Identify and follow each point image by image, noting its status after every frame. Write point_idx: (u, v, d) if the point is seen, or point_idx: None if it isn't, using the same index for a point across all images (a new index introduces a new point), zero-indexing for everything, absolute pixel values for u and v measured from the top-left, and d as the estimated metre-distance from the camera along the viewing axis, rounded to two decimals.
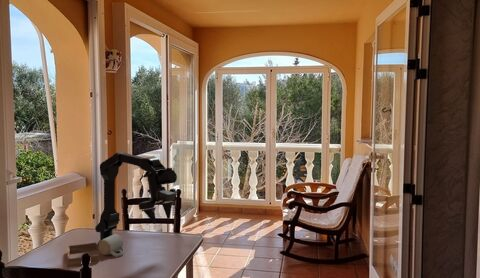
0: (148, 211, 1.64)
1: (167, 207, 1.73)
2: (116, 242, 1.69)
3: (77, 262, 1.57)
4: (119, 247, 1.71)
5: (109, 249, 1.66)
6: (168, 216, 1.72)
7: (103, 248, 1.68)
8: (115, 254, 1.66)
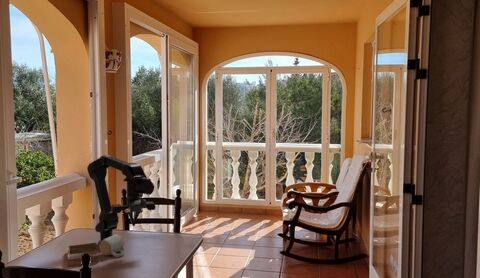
0: None
1: (134, 215, 1.74)
2: (117, 242, 1.69)
3: (77, 262, 1.57)
4: (120, 247, 1.70)
5: (110, 249, 1.66)
6: None
7: (103, 248, 1.67)
8: (116, 254, 1.66)
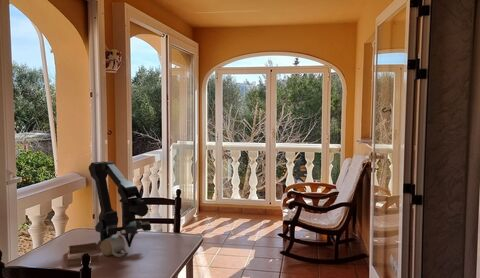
0: None
1: (130, 235, 1.73)
2: (118, 242, 1.69)
3: (77, 262, 1.57)
4: (121, 247, 1.70)
5: (111, 249, 1.66)
6: None
7: (104, 249, 1.67)
8: (117, 254, 1.66)
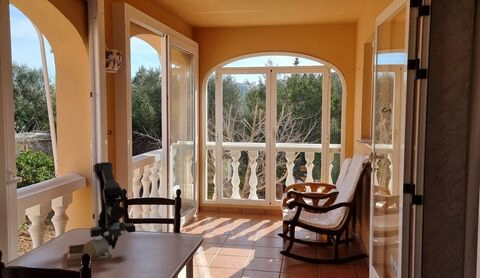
0: None
1: (114, 237, 1.71)
2: (102, 244, 1.66)
3: (77, 262, 1.57)
4: (105, 249, 1.67)
5: (95, 251, 1.63)
6: None
7: (88, 251, 1.64)
8: (100, 257, 1.63)
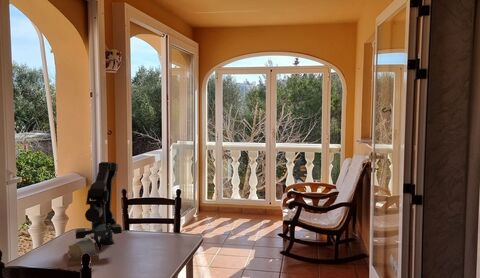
0: None
1: (100, 239, 1.68)
2: (88, 246, 1.63)
3: (77, 262, 1.57)
4: (91, 251, 1.65)
5: (81, 253, 1.60)
6: (99, 248, 1.68)
7: (74, 253, 1.61)
8: None
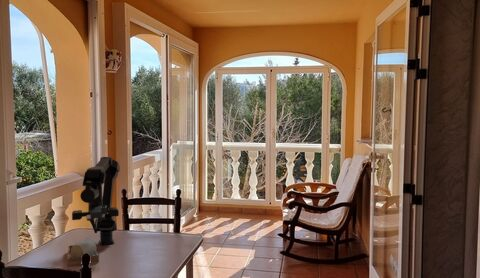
0: None
1: (97, 221, 1.67)
2: (89, 246, 1.64)
3: (77, 262, 1.57)
4: (92, 251, 1.65)
5: (82, 253, 1.60)
6: None
7: (75, 253, 1.61)
8: None
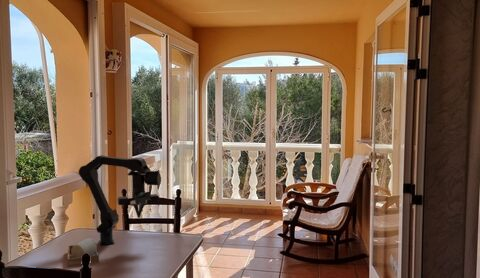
0: None
1: (139, 206, 1.82)
2: (90, 246, 1.63)
3: (77, 262, 1.57)
4: (93, 252, 1.65)
5: None
6: None
7: (76, 253, 1.61)
8: None
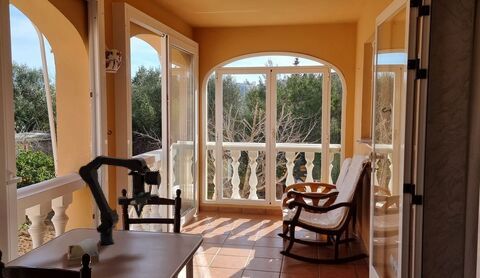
0: None
1: (140, 206, 1.82)
2: (90, 247, 1.63)
3: (77, 262, 1.57)
4: (93, 252, 1.65)
5: None
6: None
7: (76, 254, 1.61)
8: None
